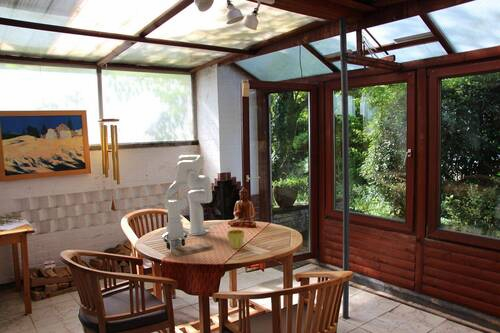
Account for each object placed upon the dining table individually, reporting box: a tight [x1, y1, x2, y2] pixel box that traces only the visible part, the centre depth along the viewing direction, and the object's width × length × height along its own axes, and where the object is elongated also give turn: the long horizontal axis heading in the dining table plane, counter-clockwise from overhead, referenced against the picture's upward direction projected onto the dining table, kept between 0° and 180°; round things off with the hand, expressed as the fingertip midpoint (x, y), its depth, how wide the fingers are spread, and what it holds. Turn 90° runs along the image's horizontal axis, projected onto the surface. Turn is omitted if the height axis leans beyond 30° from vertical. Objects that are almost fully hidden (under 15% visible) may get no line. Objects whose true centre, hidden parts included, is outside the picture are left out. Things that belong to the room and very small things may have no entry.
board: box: [170, 242, 214, 257], centre depth 250 cm, size 24×9×2 cm, turn 126°
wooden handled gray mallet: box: [170, 238, 186, 251], centre depth 247 cm, size 5×13×7 cm, turn 36°
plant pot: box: [227, 229, 245, 249], centre depth 254 cm, size 10×10×10 cm
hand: (175, 247), depth 251 cm, fingers open, 9 cm apart
